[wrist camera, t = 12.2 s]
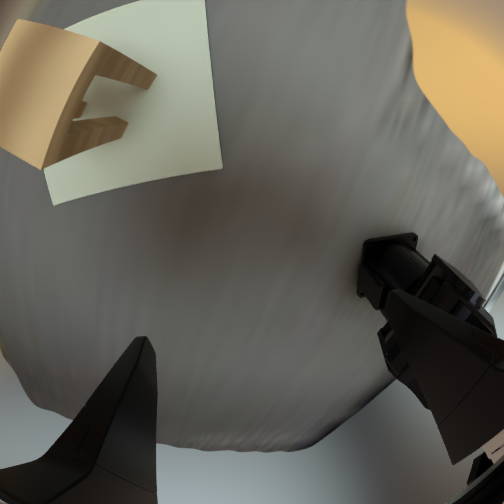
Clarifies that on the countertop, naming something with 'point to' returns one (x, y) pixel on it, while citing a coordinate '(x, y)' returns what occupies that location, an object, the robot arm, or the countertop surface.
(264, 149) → the countertop surface
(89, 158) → the board
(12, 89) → the wooden footstool
